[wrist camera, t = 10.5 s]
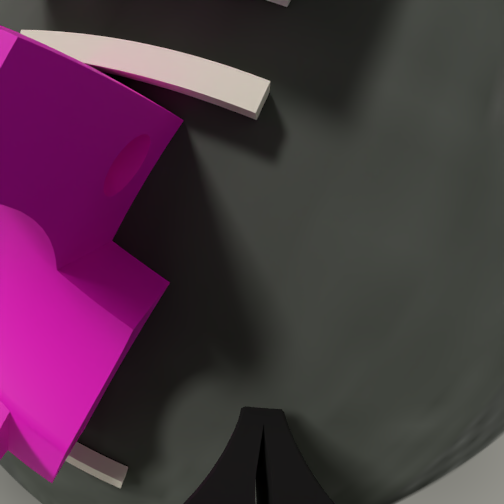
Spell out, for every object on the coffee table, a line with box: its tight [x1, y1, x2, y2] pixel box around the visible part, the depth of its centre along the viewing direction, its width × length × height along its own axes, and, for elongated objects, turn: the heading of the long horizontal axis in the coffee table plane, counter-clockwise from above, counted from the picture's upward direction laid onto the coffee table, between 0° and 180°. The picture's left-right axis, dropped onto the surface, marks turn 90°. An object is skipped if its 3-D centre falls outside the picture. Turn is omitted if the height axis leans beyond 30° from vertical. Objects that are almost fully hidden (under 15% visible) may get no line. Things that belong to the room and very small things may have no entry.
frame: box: [20, 30, 270, 488], centre depth 10 cm, size 10×20×1 cm, turn 157°
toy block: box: [0, 25, 184, 483], centre depth 7 cm, size 15×6×8 cm, turn 145°
